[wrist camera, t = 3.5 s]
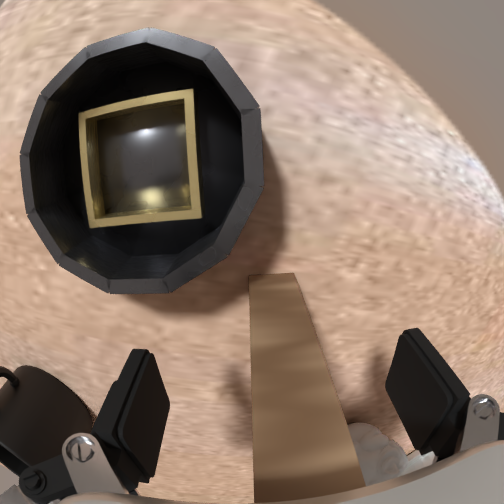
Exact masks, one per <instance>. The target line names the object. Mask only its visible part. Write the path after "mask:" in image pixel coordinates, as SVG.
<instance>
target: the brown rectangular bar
mask: <svg viewBox="0 0 504 504" xmlns="http://www.w3.org/2000/svg"><path fill="white" fill-rule="evenodd" d="M249 305H250V351H251V394H252V434H253V472H254V503H269V502H282V501H292V500H300V499H307V498H314V497H320V496H326V495H331V494H336V493H341V492H346V491H350V490H354V489H358V488H362V487H366V484H365V481H364V478H363V474H362V471H361V468H360V464H359V461H358V458H357V454H356V451H355V448H354V445H353V442H352V438H351V435H350V432H349V429H348V426H347V423H346V420H345V417H344V413H343V410H342V407H341V404H340V401H339V398H338V395H337V392H336V389H335V386H334V383H333V380H332V378H331V375H330V372H329V369H328V366H327V363H326V360H325V357H324V354H323V352H322V349H321V346H320V343H319V340H318V337H317V335H316V332H315V329H314V326H313V323H312V321H311V318H310V315H309V312H308V310H307V307H306V304H305V302H304V299H303V296H302V293H301V291H300V288H299V285H298V283H297V280H296V277H295V275H294V273H283V274H266V275H249Z"/></svg>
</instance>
